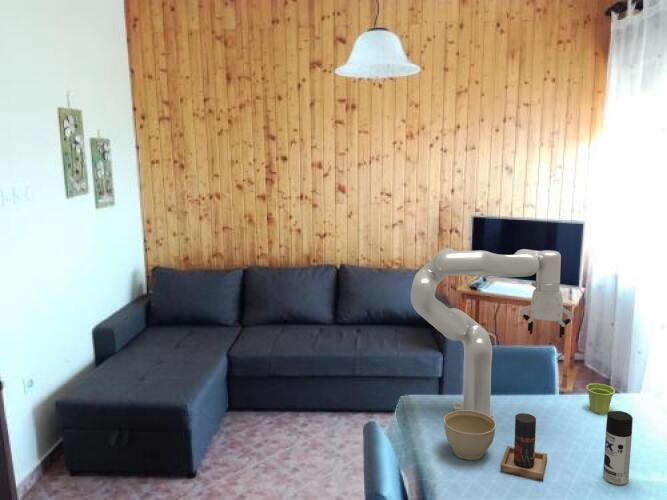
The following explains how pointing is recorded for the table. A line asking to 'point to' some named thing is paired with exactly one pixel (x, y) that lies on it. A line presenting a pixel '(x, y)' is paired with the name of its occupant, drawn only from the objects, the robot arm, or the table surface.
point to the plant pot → (600, 397)
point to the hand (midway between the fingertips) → (545, 334)
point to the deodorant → (524, 440)
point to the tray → (531, 473)
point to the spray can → (617, 447)
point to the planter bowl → (469, 433)
